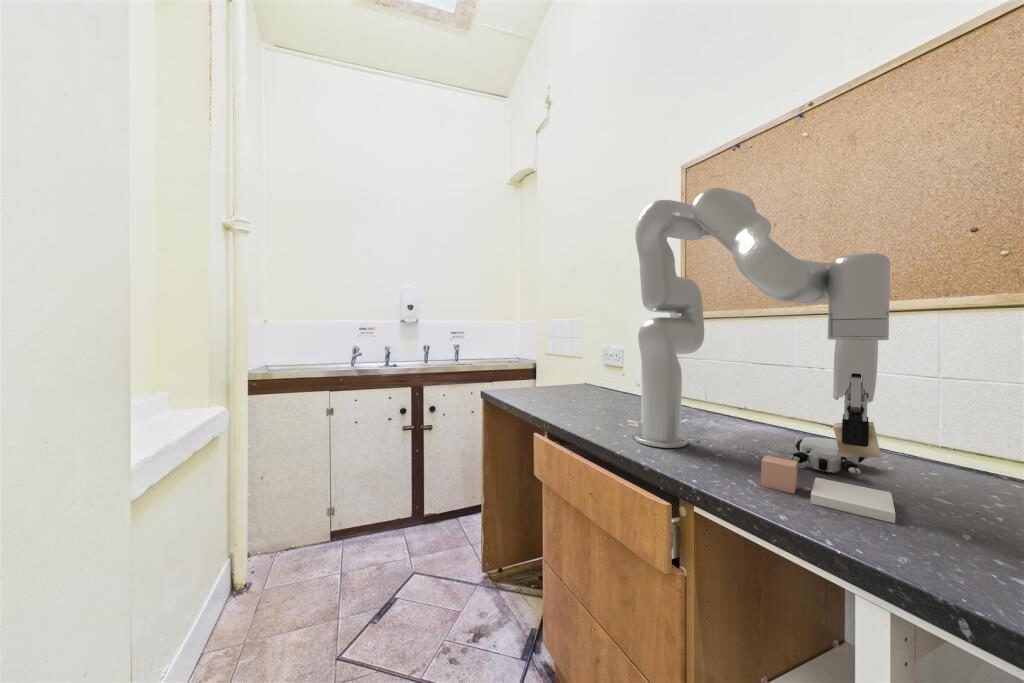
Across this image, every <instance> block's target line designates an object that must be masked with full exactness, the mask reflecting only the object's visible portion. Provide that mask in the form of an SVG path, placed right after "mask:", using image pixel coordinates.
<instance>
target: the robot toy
mask: <svg viewBox="0 0 1024 683" xmlns="http://www.w3.org/2000/svg"><path fill="white" fill-rule="evenodd" d="M799 438H800V436H799V435H797V436H796V440H795V442H794V444H793V445H794V447H795V448H796V449H797V451H798V452H795V453H793V454H792V455H790V456H789V457H788V460H793V461H798V464H802V463H806V462H808V464H809V465H810V467H811V468H812V469H813V470H817V471H820V472H824V471H826V472H825V473H830V472H832V473H833V474H836V473H838V472H839V471H841V470H842V469H843V470H844V471H845V472H846V473H849V474H852V475H853V474H859V475H860V474H861V473H862V471H861V470H860V468H859V466H858V463H862V462H863V461H864V460H865V459H866V460H867V459H868V457H840V454H839V450H838V445H837V441H836V439H832V438H824V437H816V436H815V437H812V436H807V437H803V438H802V439H799ZM832 473H831V474H832Z"/></svg>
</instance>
